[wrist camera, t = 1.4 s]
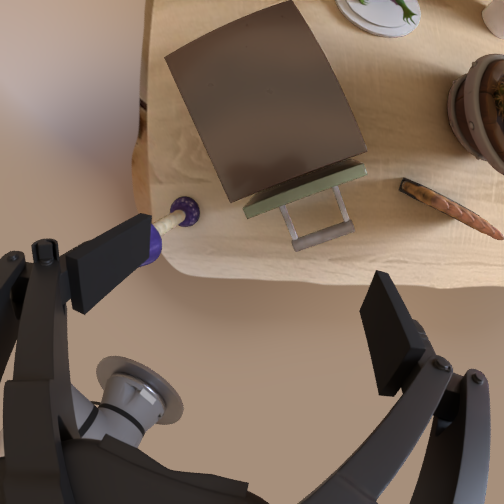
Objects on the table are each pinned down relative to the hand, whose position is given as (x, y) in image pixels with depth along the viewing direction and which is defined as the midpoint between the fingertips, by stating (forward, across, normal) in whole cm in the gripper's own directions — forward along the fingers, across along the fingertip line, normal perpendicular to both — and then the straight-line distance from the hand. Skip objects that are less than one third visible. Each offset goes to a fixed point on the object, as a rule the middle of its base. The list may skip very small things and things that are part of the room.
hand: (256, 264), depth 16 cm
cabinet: (+22, +4, -11) cm, 25 cm away
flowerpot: (+22, -24, -19) cm, 37 cm away
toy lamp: (+22, +12, +5) cm, 26 cm away
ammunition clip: (+22, -20, -5) cm, 30 cm away
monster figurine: (+22, -7, -30) cm, 38 cm away
